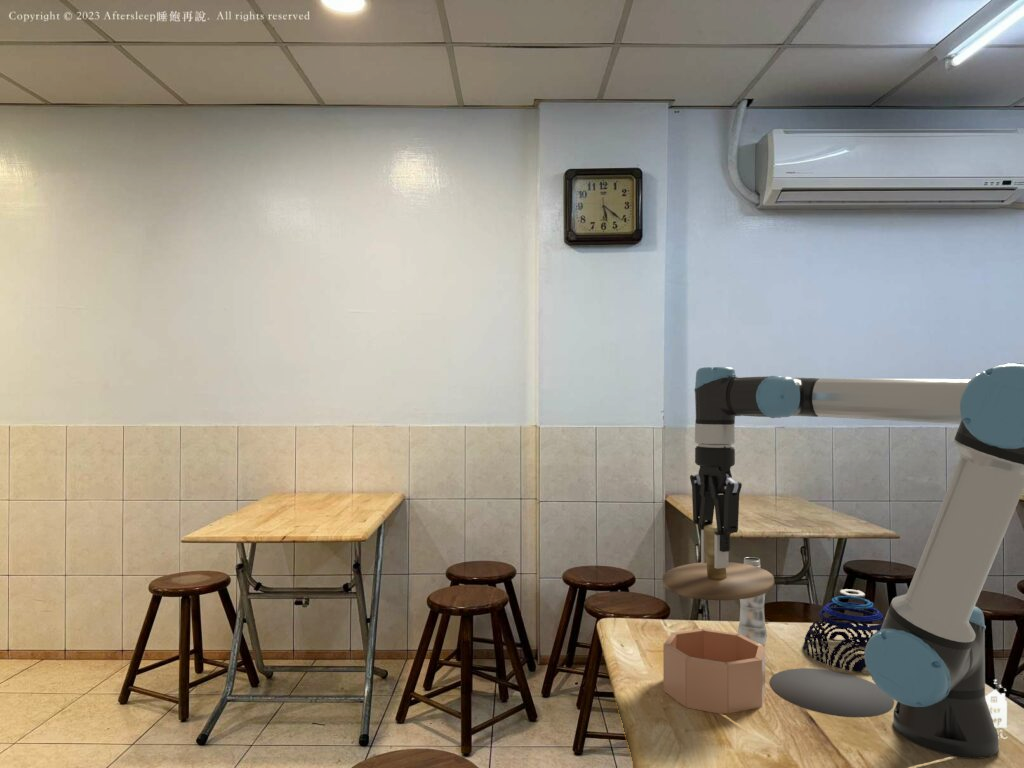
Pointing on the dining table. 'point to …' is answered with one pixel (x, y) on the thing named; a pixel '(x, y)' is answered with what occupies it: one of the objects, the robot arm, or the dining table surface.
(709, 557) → the lid
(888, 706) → the mat
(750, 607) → the plastic bottle
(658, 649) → the dining table surface
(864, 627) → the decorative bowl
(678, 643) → the bowl
